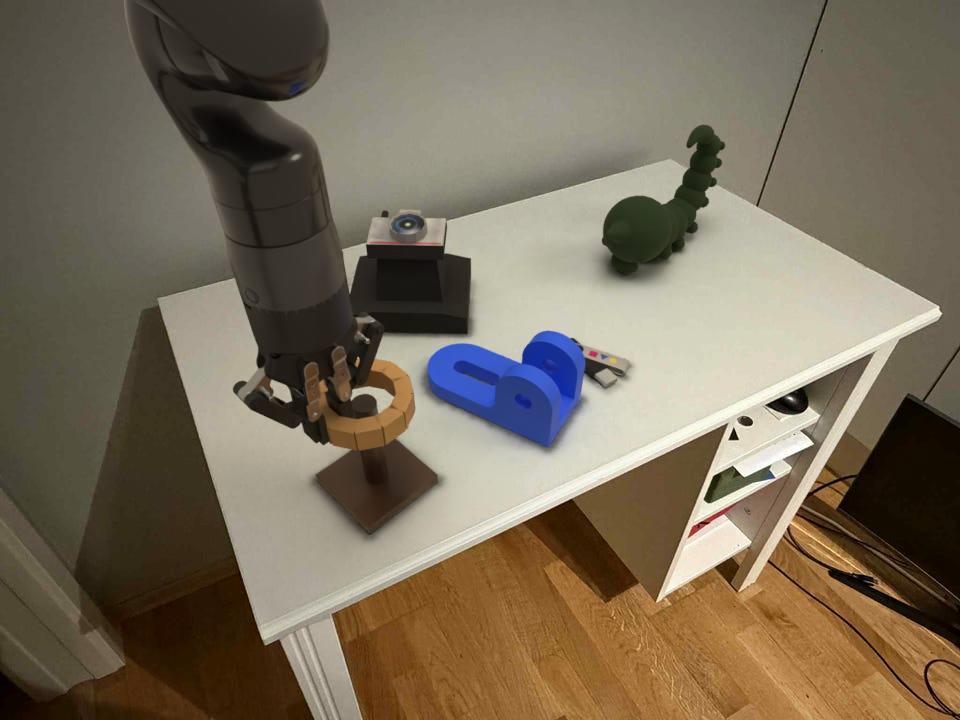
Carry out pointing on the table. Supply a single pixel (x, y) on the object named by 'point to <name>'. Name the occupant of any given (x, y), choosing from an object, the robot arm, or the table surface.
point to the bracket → (513, 384)
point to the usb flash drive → (602, 364)
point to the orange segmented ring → (383, 424)
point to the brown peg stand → (376, 476)
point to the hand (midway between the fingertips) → (330, 431)
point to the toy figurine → (663, 211)
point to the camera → (412, 276)
